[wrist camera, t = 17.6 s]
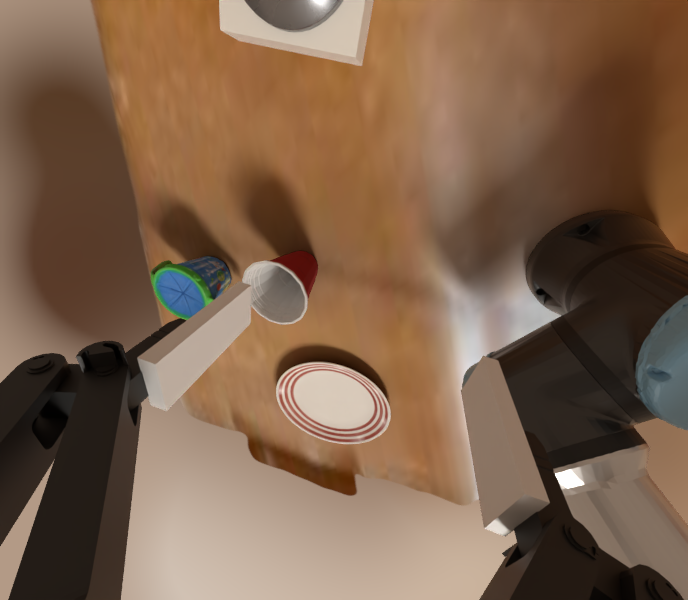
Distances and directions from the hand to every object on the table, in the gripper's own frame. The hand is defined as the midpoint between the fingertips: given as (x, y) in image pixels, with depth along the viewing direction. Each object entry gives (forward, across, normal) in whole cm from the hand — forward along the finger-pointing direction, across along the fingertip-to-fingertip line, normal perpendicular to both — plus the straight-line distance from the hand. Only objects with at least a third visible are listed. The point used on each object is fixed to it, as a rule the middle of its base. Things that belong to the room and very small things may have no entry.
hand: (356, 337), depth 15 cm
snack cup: (+32, -32, -20) cm, 49 cm away
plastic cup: (+32, -14, -13) cm, 37 cm away
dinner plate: (+32, -2, -45) cm, 55 cm away
